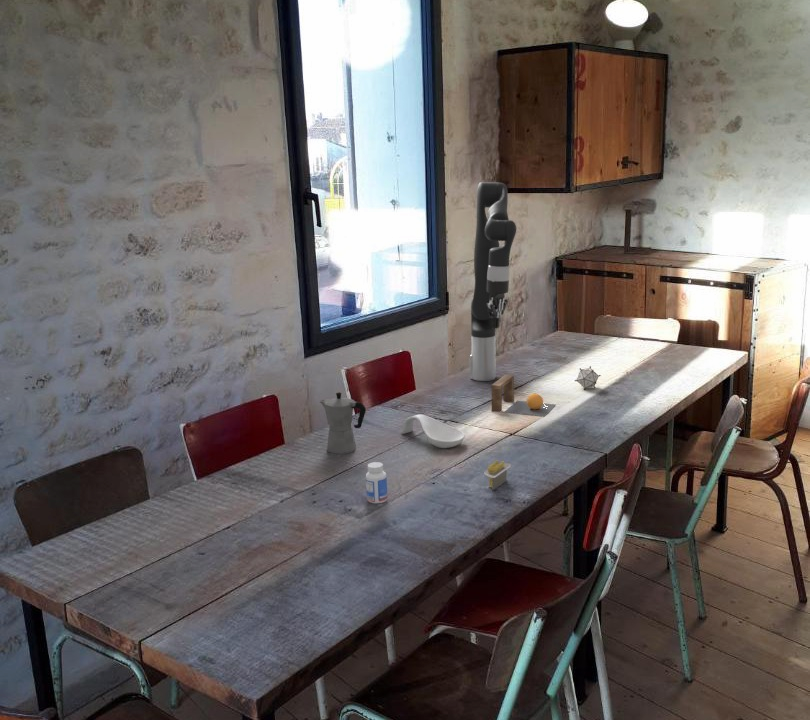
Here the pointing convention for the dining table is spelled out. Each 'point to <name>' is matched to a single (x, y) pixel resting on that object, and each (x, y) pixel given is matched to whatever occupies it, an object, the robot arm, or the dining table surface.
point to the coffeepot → (341, 423)
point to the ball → (534, 401)
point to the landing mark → (528, 409)
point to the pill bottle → (376, 483)
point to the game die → (587, 378)
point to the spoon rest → (435, 431)
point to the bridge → (497, 392)
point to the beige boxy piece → (497, 473)
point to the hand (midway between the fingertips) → (495, 327)
